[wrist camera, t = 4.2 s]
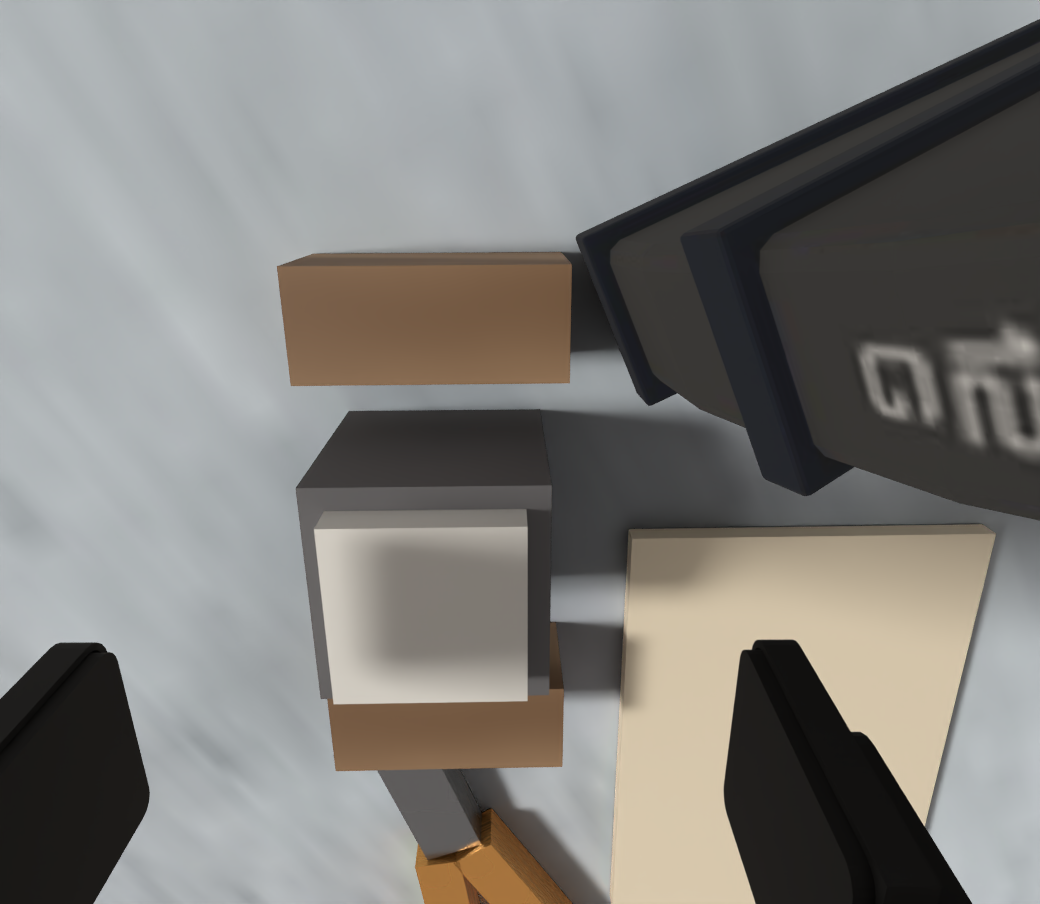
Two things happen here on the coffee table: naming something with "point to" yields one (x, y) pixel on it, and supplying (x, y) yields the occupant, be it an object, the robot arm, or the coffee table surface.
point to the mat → (776, 616)
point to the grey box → (430, 557)
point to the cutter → (465, 844)
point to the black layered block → (858, 288)
